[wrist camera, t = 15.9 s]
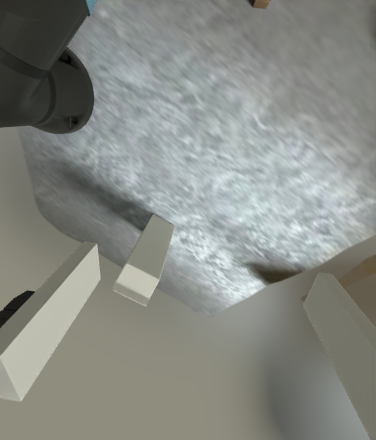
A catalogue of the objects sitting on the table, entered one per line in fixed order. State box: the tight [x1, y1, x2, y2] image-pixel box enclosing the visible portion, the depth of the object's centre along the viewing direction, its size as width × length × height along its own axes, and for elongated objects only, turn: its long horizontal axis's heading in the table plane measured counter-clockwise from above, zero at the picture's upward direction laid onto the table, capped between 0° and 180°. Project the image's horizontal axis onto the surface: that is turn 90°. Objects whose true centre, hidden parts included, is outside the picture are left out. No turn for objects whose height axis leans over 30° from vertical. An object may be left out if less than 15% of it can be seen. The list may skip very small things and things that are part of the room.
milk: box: [112, 214, 175, 306], centre depth 42 cm, size 6×6×22 cm
